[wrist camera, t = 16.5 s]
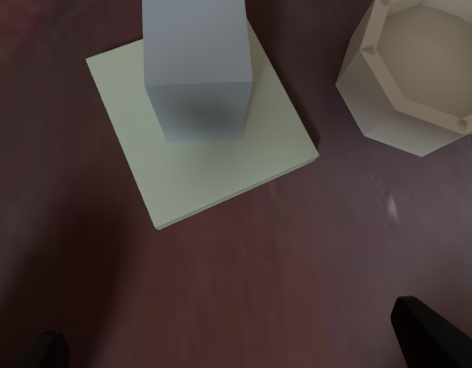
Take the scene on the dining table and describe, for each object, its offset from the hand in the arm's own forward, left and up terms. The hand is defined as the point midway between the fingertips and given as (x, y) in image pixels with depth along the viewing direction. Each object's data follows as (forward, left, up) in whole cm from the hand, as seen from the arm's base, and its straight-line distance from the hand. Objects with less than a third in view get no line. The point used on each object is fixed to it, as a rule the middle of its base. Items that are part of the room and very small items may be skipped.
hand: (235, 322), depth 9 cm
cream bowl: (+8, -20, -14) cm, 25 cm away
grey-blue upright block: (+12, -4, -12) cm, 17 cm away
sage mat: (+12, -4, -14) cm, 18 cm away
